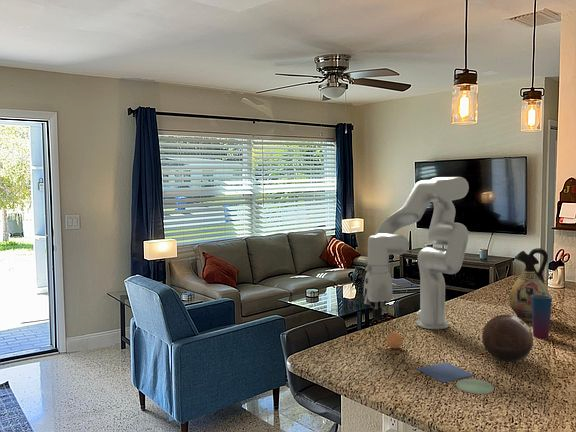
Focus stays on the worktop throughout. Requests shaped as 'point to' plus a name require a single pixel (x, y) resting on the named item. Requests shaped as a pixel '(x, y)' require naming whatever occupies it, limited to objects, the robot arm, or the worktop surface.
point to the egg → (394, 340)
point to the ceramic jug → (528, 284)
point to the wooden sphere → (507, 338)
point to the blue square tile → (445, 372)
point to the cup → (541, 315)
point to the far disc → (475, 386)
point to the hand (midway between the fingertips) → (377, 319)
